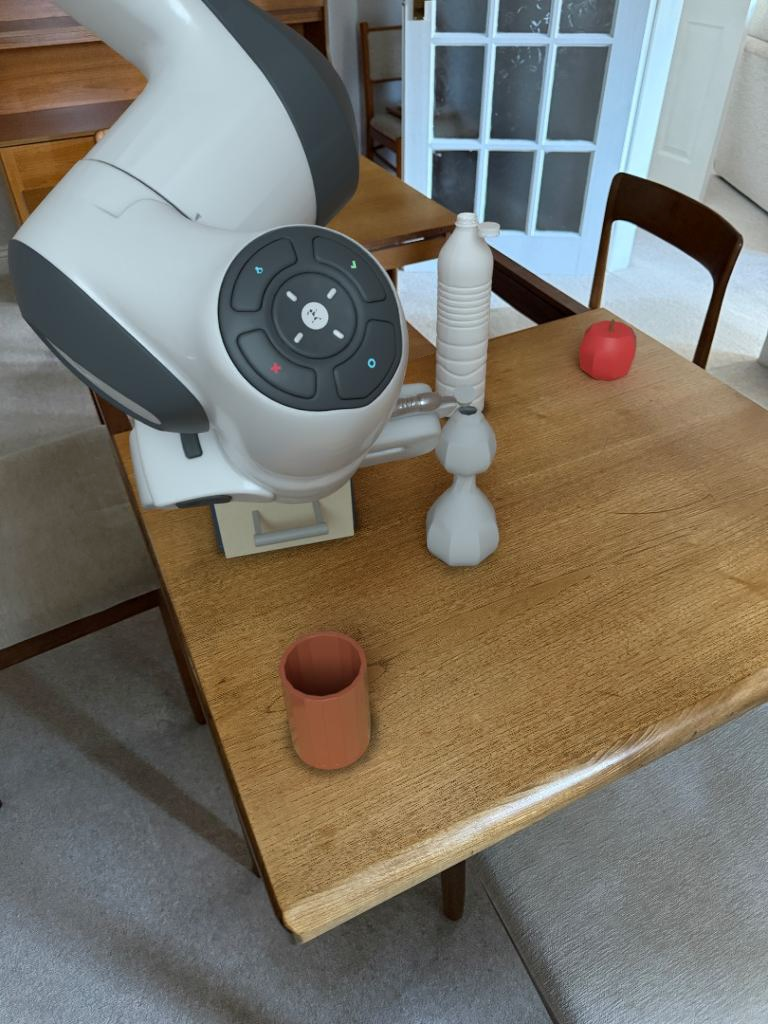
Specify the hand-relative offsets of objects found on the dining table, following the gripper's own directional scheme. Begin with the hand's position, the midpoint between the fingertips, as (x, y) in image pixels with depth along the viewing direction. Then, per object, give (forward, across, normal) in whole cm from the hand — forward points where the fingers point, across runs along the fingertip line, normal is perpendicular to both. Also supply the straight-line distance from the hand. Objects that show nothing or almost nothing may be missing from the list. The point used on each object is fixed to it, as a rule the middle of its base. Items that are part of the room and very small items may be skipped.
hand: (286, 470), depth 56 cm
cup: (+7, +1, +21) cm, 22 cm away
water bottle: (+37, -27, -10) cm, 47 cm away
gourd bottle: (+19, -17, +9) cm, 27 cm away
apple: (+39, -49, -12) cm, 64 cm away
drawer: (+25, -1, 0) cm, 25 cm away
